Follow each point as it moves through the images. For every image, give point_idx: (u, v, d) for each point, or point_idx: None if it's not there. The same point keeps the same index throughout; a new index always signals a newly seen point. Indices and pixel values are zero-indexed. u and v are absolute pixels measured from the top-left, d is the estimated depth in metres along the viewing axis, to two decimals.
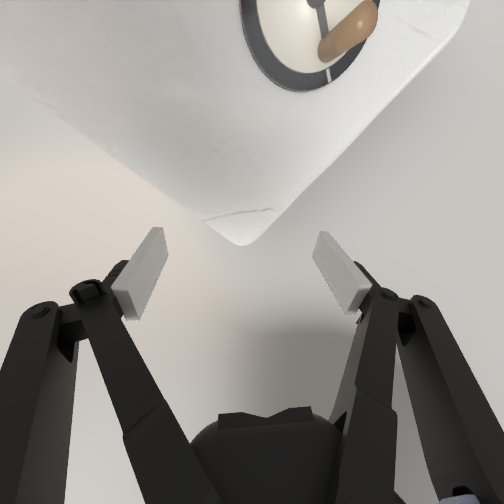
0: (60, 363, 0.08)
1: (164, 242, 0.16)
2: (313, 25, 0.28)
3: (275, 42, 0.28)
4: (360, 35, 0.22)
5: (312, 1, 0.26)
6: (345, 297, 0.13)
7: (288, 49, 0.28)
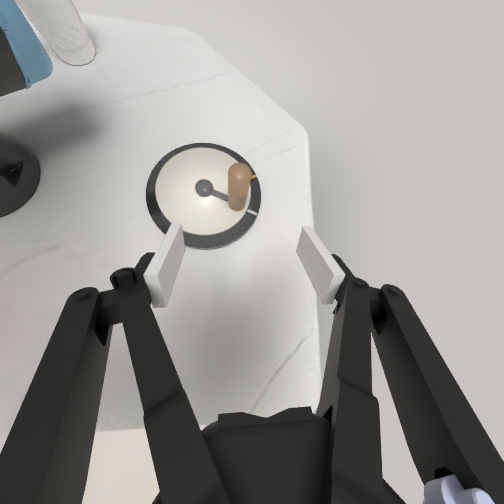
0: (95, 346, 0.09)
1: (182, 237, 0.17)
2: (216, 201, 0.33)
3: (198, 229, 0.32)
4: (245, 179, 0.25)
5: (205, 194, 0.33)
6: (322, 287, 0.14)
7: (210, 224, 0.33)
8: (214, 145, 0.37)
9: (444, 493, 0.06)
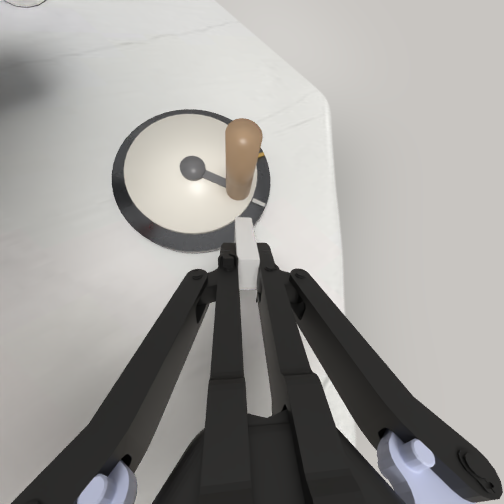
0: (192, 321, 0.10)
1: None
2: (210, 187, 0.24)
3: (185, 225, 0.23)
4: (252, 145, 0.16)
5: (194, 176, 0.24)
6: None
7: (201, 218, 0.23)
8: (207, 113, 0.27)
9: (394, 458, 0.06)
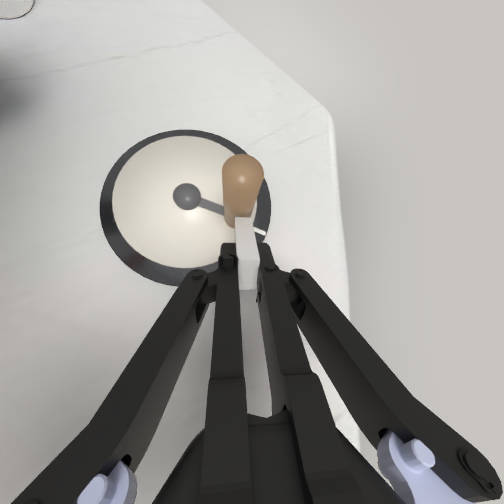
0: (192, 321, 0.10)
1: None
2: (207, 216, 0.22)
3: (181, 260, 0.21)
4: (253, 184, 0.14)
5: (189, 206, 0.22)
6: None
7: (199, 252, 0.22)
8: (203, 133, 0.26)
9: (394, 458, 0.06)
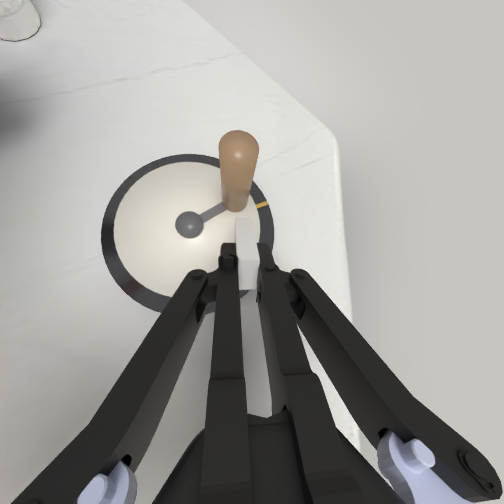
0: (192, 321, 0.10)
1: None
2: (217, 222, 0.23)
3: None
4: (254, 148, 0.15)
5: (199, 228, 0.22)
6: None
7: None
8: (207, 157, 0.25)
9: (394, 458, 0.06)
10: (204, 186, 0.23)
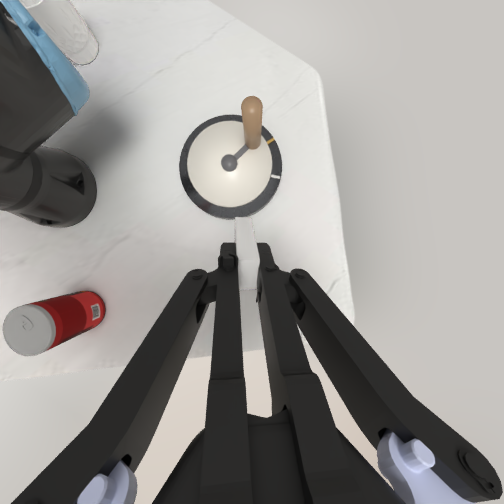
0: (192, 321, 0.10)
1: None
2: (244, 158, 0.37)
3: (262, 182, 0.37)
4: (259, 105, 0.28)
5: (235, 163, 0.36)
6: None
7: (262, 171, 0.37)
8: (229, 116, 0.38)
9: (394, 458, 0.06)
10: (232, 136, 0.37)
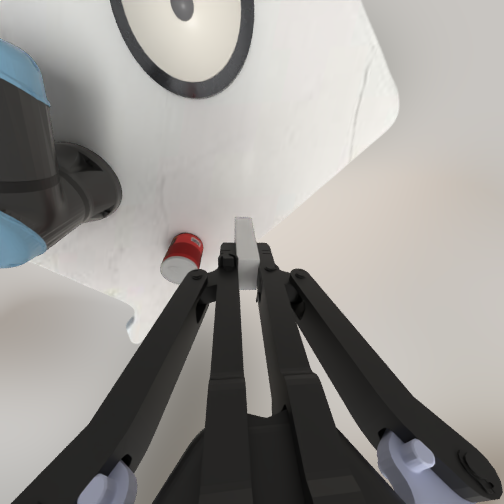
0: (192, 321, 0.10)
1: None
2: None
3: None
4: None
5: None
6: None
7: None
8: None
9: (394, 458, 0.06)
10: None
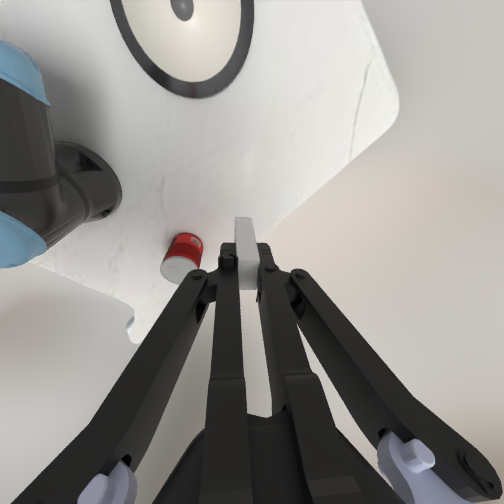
0: (192, 321, 0.10)
1: None
2: None
3: None
4: None
5: None
6: None
7: None
8: None
9: (394, 458, 0.06)
10: None
